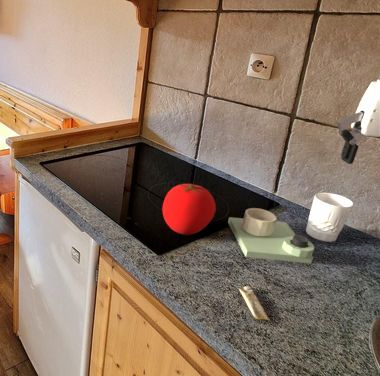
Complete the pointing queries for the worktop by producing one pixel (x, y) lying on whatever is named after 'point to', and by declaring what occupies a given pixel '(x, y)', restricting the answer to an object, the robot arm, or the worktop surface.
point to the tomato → (188, 208)
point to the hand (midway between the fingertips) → (372, 163)
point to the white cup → (328, 216)
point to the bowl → (259, 222)
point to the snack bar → (253, 303)
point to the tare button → (299, 241)
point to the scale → (271, 243)
